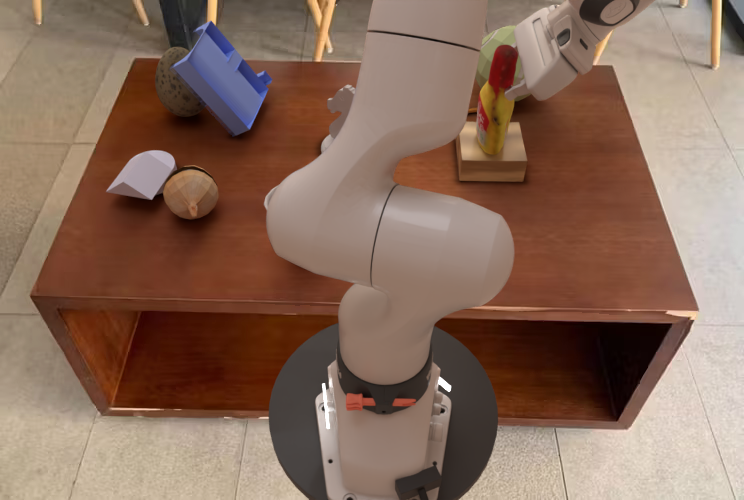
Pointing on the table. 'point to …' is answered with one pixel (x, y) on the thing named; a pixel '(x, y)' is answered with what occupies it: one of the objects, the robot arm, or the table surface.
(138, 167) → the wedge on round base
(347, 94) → the chess piece
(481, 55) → the decorative sphere
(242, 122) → the blue plastic box
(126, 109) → the table surface
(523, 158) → the birch block
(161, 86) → the decorative egg
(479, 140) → the bottle
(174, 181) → the acorn
